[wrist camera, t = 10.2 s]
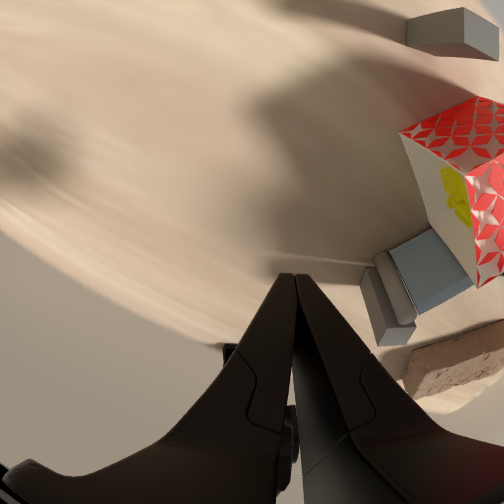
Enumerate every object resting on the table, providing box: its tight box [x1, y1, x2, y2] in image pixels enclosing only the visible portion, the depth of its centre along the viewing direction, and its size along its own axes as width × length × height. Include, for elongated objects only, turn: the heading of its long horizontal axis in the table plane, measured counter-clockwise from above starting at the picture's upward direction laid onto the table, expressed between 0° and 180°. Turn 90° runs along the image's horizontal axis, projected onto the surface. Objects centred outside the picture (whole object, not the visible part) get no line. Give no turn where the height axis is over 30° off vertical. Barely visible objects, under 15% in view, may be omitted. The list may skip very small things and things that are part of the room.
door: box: [374, 228, 474, 325], centre depth 16 cm, size 3×16×6 cm, turn 125°
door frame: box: [360, 7, 499, 346], centre depth 15 cm, size 2×21×6 cm, turn 178°
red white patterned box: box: [399, 96, 504, 289], centre depth 13 cm, size 8×8×8 cm
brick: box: [402, 320, 504, 400], centre depth 28 cm, size 17×8×5 cm, turn 104°
